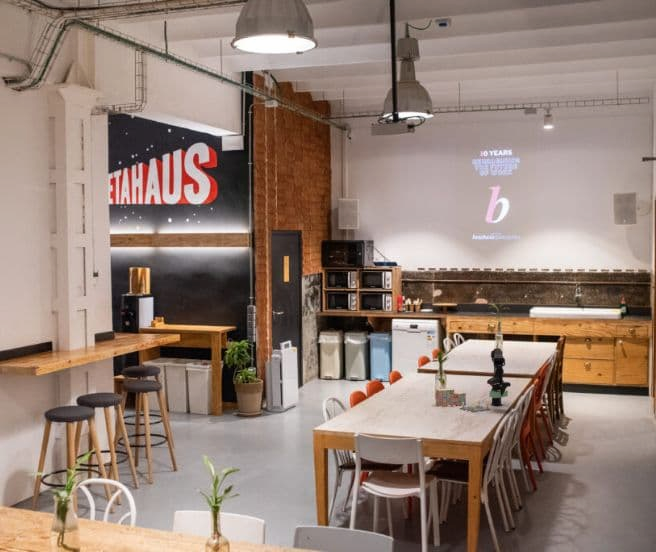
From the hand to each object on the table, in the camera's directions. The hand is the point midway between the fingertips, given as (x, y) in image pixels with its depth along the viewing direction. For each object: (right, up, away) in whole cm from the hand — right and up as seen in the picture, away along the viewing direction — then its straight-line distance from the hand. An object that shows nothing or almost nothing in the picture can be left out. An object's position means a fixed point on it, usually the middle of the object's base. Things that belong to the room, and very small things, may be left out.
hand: (498, 395), depth 576 cm
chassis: (-16, -11, +5) cm, 20 cm away
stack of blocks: (-31, -11, +22) cm, 40 cm away
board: (0, -1, 0) cm, 1 cm away
